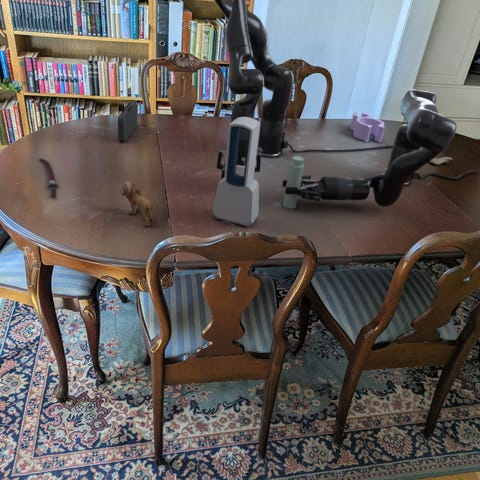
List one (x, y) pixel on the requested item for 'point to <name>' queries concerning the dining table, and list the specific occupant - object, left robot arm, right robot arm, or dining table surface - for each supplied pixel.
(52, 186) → the sword
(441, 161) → the jawbone
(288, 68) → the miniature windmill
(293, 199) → the pale green tube
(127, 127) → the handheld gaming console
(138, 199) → the lion figurine
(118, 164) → the dining table surface
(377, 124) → the clip
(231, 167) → the electronic device
